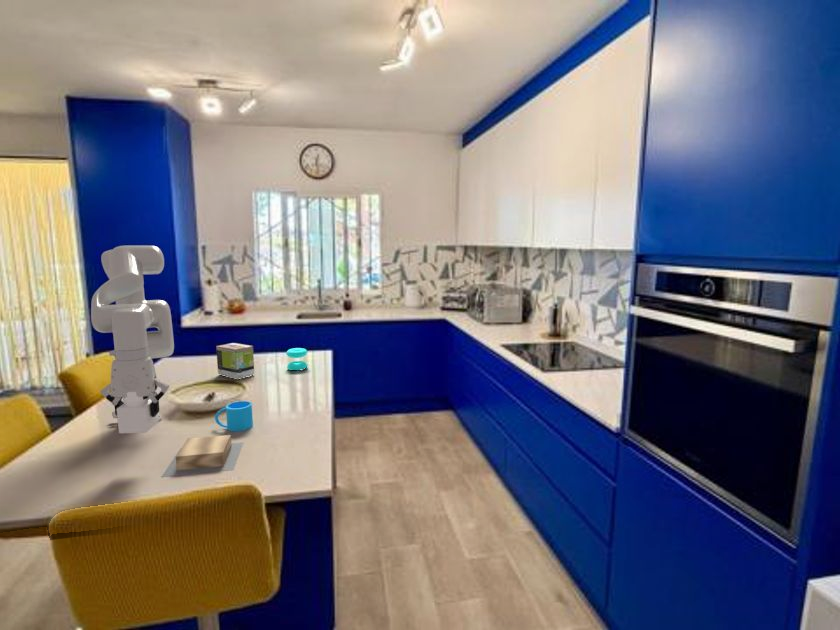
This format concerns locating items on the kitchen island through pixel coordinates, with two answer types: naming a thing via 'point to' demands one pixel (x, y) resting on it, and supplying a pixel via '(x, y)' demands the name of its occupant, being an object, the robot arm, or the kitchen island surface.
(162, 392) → the robot arm
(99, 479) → the kitchen island surface
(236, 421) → the mug
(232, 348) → the tea box
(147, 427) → the medicine bottle
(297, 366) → the turquoise hourglass
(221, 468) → the grey square mat
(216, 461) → the oak block
